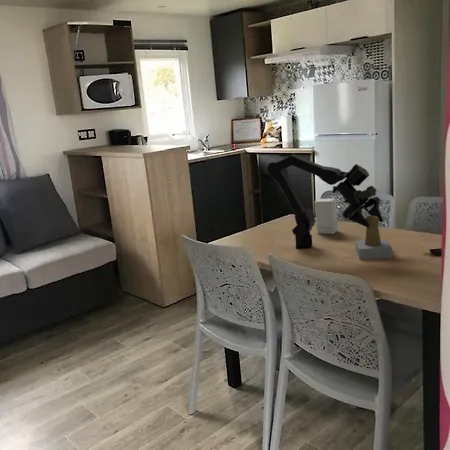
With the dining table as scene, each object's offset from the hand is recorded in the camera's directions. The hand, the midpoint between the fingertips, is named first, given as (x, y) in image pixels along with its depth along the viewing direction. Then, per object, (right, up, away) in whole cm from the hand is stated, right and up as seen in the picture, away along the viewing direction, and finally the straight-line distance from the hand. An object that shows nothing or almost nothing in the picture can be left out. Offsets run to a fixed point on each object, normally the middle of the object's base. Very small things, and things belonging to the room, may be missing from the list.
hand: (375, 224), depth 189 cm
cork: (0, -8, +3) cm, 8 cm away
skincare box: (-10, -4, +41) cm, 42 cm away
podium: (0, -11, +4) cm, 12 cm away
